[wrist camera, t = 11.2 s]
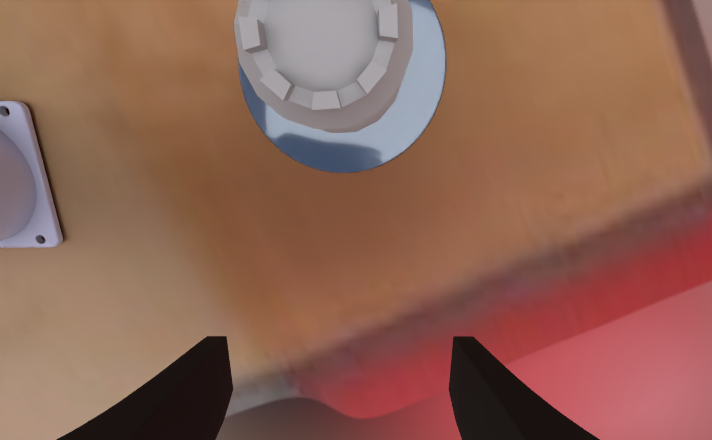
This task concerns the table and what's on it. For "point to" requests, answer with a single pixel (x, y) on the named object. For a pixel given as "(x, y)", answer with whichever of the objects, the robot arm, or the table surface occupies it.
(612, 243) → the table surface
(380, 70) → the rook chess piece
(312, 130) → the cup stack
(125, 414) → the robot arm
